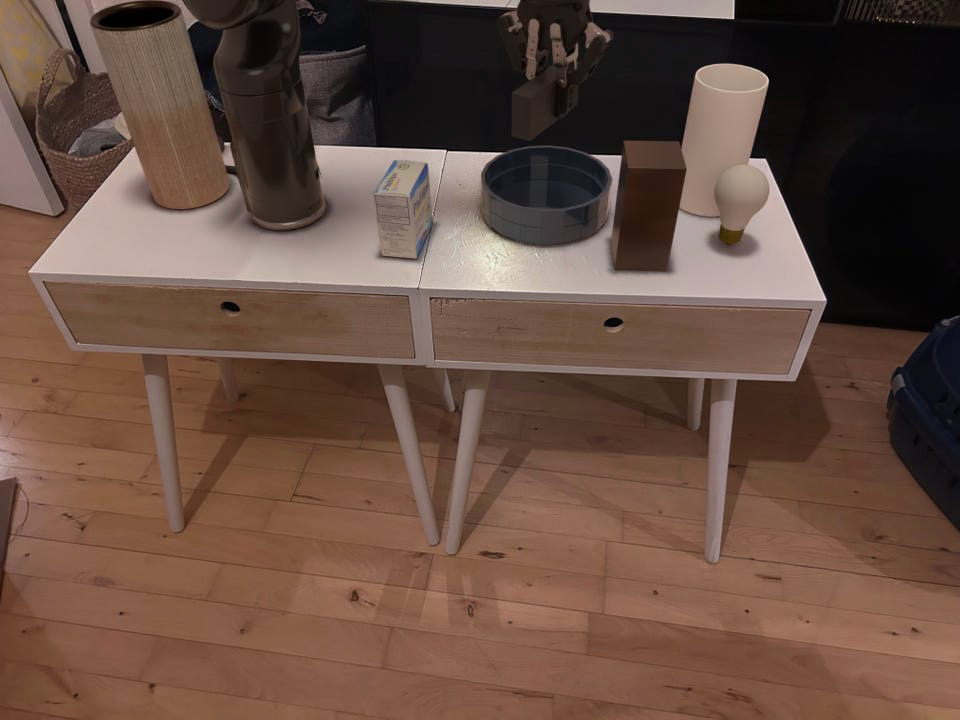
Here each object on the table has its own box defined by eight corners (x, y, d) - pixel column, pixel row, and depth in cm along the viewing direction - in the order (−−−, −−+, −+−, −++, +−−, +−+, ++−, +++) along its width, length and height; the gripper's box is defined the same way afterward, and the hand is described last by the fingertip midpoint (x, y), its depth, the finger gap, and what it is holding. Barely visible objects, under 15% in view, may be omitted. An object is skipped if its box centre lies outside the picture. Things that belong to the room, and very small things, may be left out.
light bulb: (720, 224, 92) (738, 149, 85) (763, 243, 88) (785, 167, 82) (693, 243, 89) (709, 168, 82) (736, 263, 85) (757, 187, 79)
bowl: (457, 222, 93) (455, 186, 89) (523, 168, 102) (524, 134, 99) (569, 262, 86) (572, 225, 83) (628, 201, 96) (633, 166, 92)
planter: (140, 208, 96) (71, 28, 81) (172, 170, 104) (114, -2, 88) (213, 212, 95) (158, 30, 80) (241, 173, 103) (195, 0, 87)
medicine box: (416, 260, 87) (410, 195, 81) (380, 256, 88) (372, 192, 82) (433, 224, 93) (428, 161, 87) (399, 221, 93) (392, 158, 87)
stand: (614, 270, 85) (628, 167, 76) (610, 240, 89) (623, 140, 80) (667, 271, 85) (687, 168, 76) (661, 241, 89) (679, 141, 80)
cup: (743, 191, 97) (774, 69, 86) (730, 222, 92) (762, 97, 81) (681, 178, 100) (704, 59, 89) (665, 208, 94) (687, 85, 83)
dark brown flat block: (559, 100, 89) (562, 58, 85) (577, 104, 88) (580, 62, 84) (511, 136, 82) (511, 92, 79) (529, 141, 81) (531, 97, 78)
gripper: (637, -55, 73) (618, 114, 85) (517, -72, 79) (515, 88, 90) (602, -35, 68) (588, 140, 80) (478, -55, 74) (481, 111, 86)
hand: (549, 111), depth 85 cm, fingers closed on dark brown flat block, 2 cm apart
